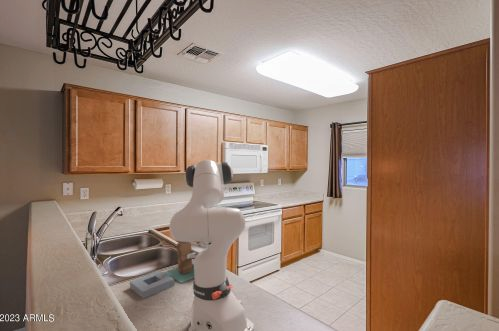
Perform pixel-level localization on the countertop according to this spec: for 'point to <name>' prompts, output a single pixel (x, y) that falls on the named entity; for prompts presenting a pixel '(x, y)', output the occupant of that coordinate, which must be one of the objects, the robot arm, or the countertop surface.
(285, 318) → the countertop surface
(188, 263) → the walnut peg
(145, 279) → the socket block
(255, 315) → the countertop surface
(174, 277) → the teal mat
